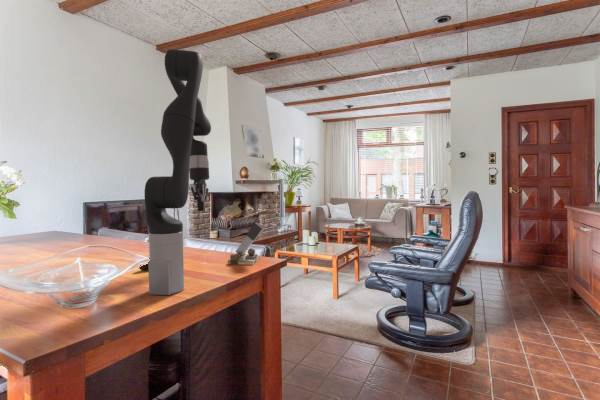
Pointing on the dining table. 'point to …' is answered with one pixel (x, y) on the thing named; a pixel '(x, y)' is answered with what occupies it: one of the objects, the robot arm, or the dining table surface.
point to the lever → (249, 238)
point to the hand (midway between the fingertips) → (201, 211)
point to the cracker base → (244, 258)
